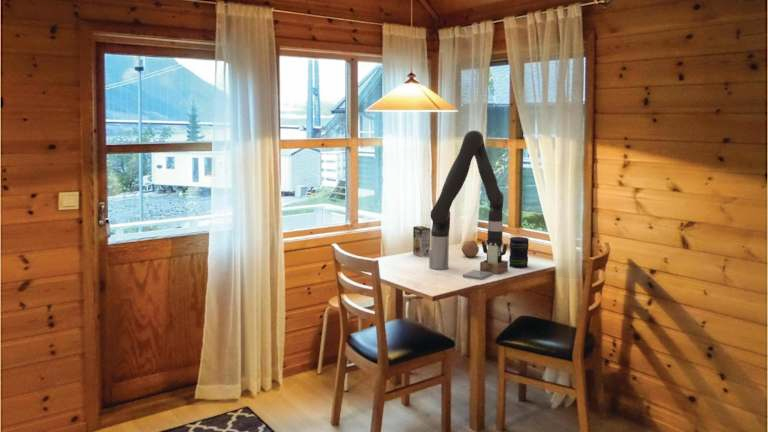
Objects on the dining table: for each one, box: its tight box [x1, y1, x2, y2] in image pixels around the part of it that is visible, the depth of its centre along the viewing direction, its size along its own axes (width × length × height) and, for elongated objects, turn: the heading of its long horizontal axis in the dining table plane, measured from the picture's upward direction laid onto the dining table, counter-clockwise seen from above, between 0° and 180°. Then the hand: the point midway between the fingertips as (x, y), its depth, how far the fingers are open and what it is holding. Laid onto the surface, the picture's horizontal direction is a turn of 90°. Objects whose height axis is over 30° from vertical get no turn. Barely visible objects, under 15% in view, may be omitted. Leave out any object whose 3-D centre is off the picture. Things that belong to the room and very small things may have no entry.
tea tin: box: [487, 244, 501, 264], centre depth 340 cm, size 5×5×14 cm
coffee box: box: [412, 225, 431, 258], centre depth 378 cm, size 9×6×16 cm
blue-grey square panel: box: [462, 269, 493, 281], centre depth 331 cm, size 10×12×1 cm
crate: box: [479, 259, 509, 275], centre depth 340 cm, size 11×11×5 cm
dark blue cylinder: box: [508, 236, 530, 269], centre depth 351 cm, size 10×10×15 cm
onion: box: [461, 240, 480, 258], centre depth 375 cm, size 10×9×10 cm
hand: (494, 261), depth 340 cm, fingers closed on tea tin, 5 cm apart
